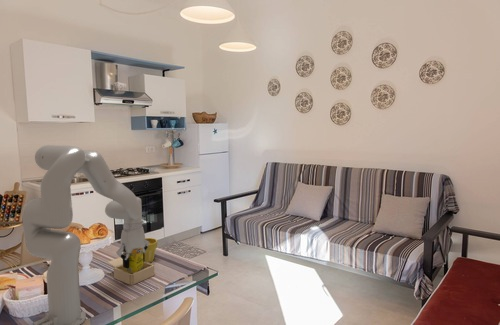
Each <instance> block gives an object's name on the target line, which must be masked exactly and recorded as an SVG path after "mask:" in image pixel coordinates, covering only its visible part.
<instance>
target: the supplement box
mask: <svg viewBox="0 0 500 325" xmlns="http://www.w3.org/2000/svg"><path fill="white" fill-rule="evenodd" d="M126 254H127V253H126ZM125 256H126V255H125ZM128 259H129V268H128V269H127V268H125V272H128V273H130V274H133V273H136V272H138V271H141V270H143V249H142V248H138V249H135V250H133V251H132V253H130V254H129V257H128Z"/></svg>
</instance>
